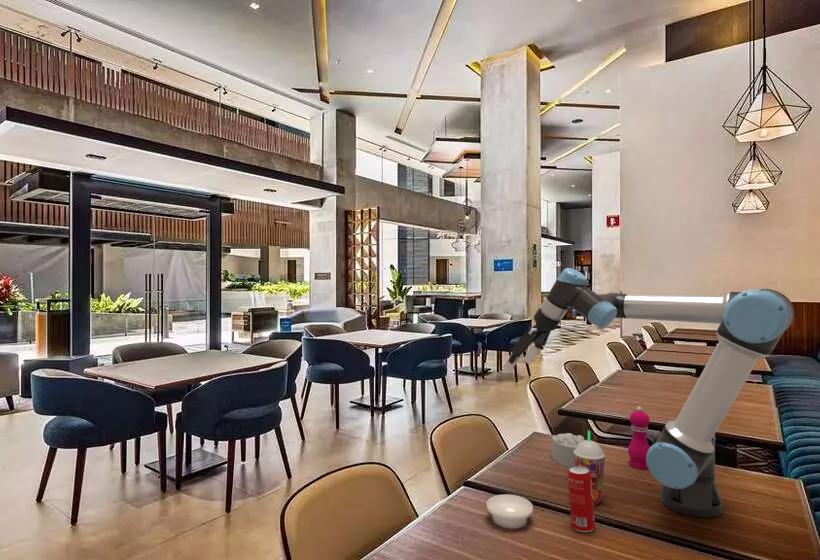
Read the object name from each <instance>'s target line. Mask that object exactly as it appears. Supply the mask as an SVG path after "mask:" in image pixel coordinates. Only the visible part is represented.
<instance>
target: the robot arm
mask: <svg viewBox="0 0 820 560" xmlns="http://www.w3.org/2000/svg"><path fill="white" fill-rule="evenodd" d="M587 281H588V279H587V277H586V276H585V275H584V274H583V273H582V272H580V271H578V270H576V269H574V268H571V267H567V268H564V269H563V270H562V271H561V273H560V274H559V276H558V277H557V278H556V280H555V282H554V283H553V285H552V286H551V288H550V290H549V291H548V293H547V295H546V297H543V299H542V301H543V302H541V305H540V307H539V308H538V309H537V311H536V312H535V314H534V315H533V320H534V322H535V324H534V325H533V326H529V327H528V328H527V330H526V331H525V332H524V334H523V335H522V336H521V337H520V339H519V340H518V341H517V342H516V343H515V344H514V346H513V347H512V348H510V353H511V354H510V355H509V356H508V358H507V360H506V362H505V363H504V365H503V366H502V368H503V369H504V370H506V372H507V373H510V374H511V373H512V371H513V370H514V369H515V366H517V363H518V362H519V360H520V358H521V355H522V354H524V352H525V351H526V350H527V349H528V348H529V349H528V351H527V352H526V354H525V355H524V357H523V359H522V361H524V362H525V363H527V365H531V364H532V362H533V361H534V359H535V358H536V356H537V355H538V353H539V351H540V350H541V351H542V350H544V349H545V345H546V344H547V341H548V339H549V337H550V334H551V332H552V331H555V330H556V329H557V327H558V326H559V324H560V323H561V320H563V319H564V317H565V315H566V314H567V312H568V311H569V309H570V308H571V309H573V310H574V311H576V312H577V313H578V314H579V315H581V317H583V318H585V319H586V320H587V321H588V322H589V323H590V324H593V325H594V326H596V327H597V328H600V329H605V328H606V327H607V326H609V325H610V324H611V323H612V322H613V321H614V320H615V319H633V320H646V321H648V320H650V321H652V320H654V321H667V322H684V323H685V322H686V323H687V322H688V323H701V324H702V323H704V324H719V325H718V327H717V330H716V332H715V334H716V336H717V338H718V343H717V344H716V346H715V348H714V350H713V352H712V353H711V356H710V358H709V359H708V360H707V362H706V365H705V366H704V368H703V370H702V372H701V373H700V376H699V377H698V379H697V381H696V382H695V384H694V386H693V388H692V390H691V392H690V394H689V395H688V397H687V399H686V400H685V403H683V404H684V405H683V406H682V408H681V410H680V412H679V414H678V415H677V417H676V419H670V420H668V421H667V422H666V424H665V425H664V426H663V429H662V431H661V433H660V434H659V435H658V438H657V440H656V441H655V443H653V444H652V445H651V446H649V447H650V448H649V450H648V452H647V455H646V463H647V466H648V469H647V470H648V471H649V472H650V474H651V475H652V476H653V478H654V479H655V480H656V481H658V483H660V484H662V485H661V488H660V491H659V492H660V493H659V496H660V497H659V498H660V501H661V503H662V504H663V505H664V506H666V507H667V508H669V509H671V510H673V511H674V512H677V513H680V514H683V515H686V516H690V517H697V518H714V517H718V516H720V515H721V514H722V513H723V511H724V507H723V506H724V505H723V504H724V503H723V499H722V497H721V495H720V492H719V489H718V486H717V484H716V439H717V438H716V432H717V431H718V429H719V427H720V426H721V424H722V422H723V420H724V419H725V417H726V415H727V414H728V412H729V411H730V408H731V407H732V405H733V404H734V402H735V400H736V398H737V397H738V395H739V393H740V391H741V390H742V388H743V387H744V384H745V383H746V382H747V380H748V379H749V378H748V377H749V375H750V374H751V373H752V371H753V369H754V367H755V365H756V364H757V362H758V360H760V359H762V358H767V357H770V356H771V354H772V352H773V351H774V349H775V348H776V346H777V345H778V342H779V341H780V339H781V337H782V336H783V334H784V333H785V331H786V330H788V329H789V328H790V326H791V325H792V323H793V322H794V319H795V314H796V313H795V309H794V306H793V305H794V304H793V303H792V302H791V300H790V298H788V297H787V295H785V294H783V293H781V292H780V291H778V290H775V289H771V288H760V289H759V288H757V289H747V290H745V291H729V292H728V293H727V294H725V295H722V294H720V295H719V294H718V295H712V294H668V293H667V294H666V293H665V294H660V293H659V294H658V293H656V294H655V293H619V292H608V293H600V294H598V293H596V292H595V291H594V290H591V289H590V288H589V287H588V286H586V283H587Z"/></svg>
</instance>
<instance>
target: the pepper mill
mask: <svg viewBox="0 0 820 560" xmlns="http://www.w3.org/2000/svg"><path fill="white" fill-rule="evenodd" d="M629 421H630V423H631V430H632V437H631V438H632V439H631V441H630V442H629V445H628V447H627V454H628V456H629V457H630V458H629V465H630V467H632V468H634V469H637V470H638V469H639V470H649V469H648V466H647V463H646V455H647V452H648V450H649V448H650V447H651V446H650V445H649V443H648V438H647V432H648V431H649V429H648V428H649V426H648V425H649V423H650V417H649V415H648V414H647V413H646V412H644V411H643V408H642V407H641V406H637V407H636V410H635V411H633V412H631V413H630V414H629Z"/></svg>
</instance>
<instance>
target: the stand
mask: <svg viewBox="0 0 820 560" xmlns="http://www.w3.org/2000/svg"><path fill="white" fill-rule="evenodd" d="M486 509H487V511H488V512H489V514H490V515H492V516H491V517H492V521H493V523H494V524H496V525H497V526H499V527H502V528H504V529H512V530H514V529H520V528H523V527H525V526H526V525H527V523H528V518H530V517H531V515H533V512H534V506H533V503H531V501H530V500H528V499H527V498H525V497H523V496H519V495H515V494H497V495H494V496H491V497H489V499H487V501H486Z"/></svg>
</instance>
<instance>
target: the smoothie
mask: <svg viewBox="0 0 820 560" xmlns="http://www.w3.org/2000/svg"><path fill="white" fill-rule="evenodd" d="M605 457H606V454H605V452H604V451H603V449H602V448H601V445H599V443H597V442H595V441H594V440H591V431H590V430H587V439H584V441H582V442H580V443H579V444H578V445H577V447H576V449H575V450H574V461H575V466H583V467H586V468H588V469H589V472H590V474H591V480H592V493H593V506H595V505H599V504H600V503H601V501H602V499H603V490H604V489H603V487H604V473H605V472H604V471H605V470H604V469H605Z"/></svg>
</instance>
